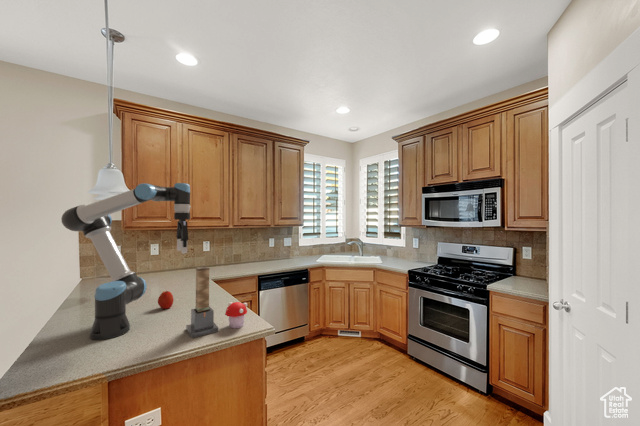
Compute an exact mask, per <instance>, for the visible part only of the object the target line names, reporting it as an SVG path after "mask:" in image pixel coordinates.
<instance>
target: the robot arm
mask: <svg viewBox="0 0 640 426" xmlns="http://www.w3.org/2000/svg"><path fill="white" fill-rule="evenodd" d="M148 201H152V202H174V204H173V205H174V206H173V212H174V214H173V215H174V217H173V218H174V220H175V221H176V220H177V226H176V236H175V237H176V251H177V252H181V254H183V255H185V254H188V240H189V239H190V238H189V231H188V220H190V219H191V213H190V212H191V210H190V209H191V208H192V206H191V185H190V184H189V183H184V182H175V183H174V186H172V187H171V186H159V185H155V184H151V183H143V182H142V183H139V184H138V185H136V187H135V188H133V189H129V190H127V191H125V192H121V193H118V194H116V195H113V196H110V197H107V198H104V199H102V200H98V201H95V202H92V203H90V204H86V205H85V204H79V205H77V206H75V207H71V208H68V209H67V210H65V211H64V212H63V214H62V216H61V225H63V227H65V228H66V229H67V230H70V231H72V232H82V233H83V235H84V238H87V239H90V240H91V242H92V244H93V247H94V248H95V251H96V252H97V253H98V256H99V257H100V259H101V261H102V263H103V264H104V265H103V266H104V267H105V269H106V271H107V272H108V274H109V277H110V278H111V281H109V282H104V283H102V284H100V285H98V286H97V287H96V288H95V291H94V292H95V293H94V321H93V324H92V326H91V329H90V331H89V338H90V340H96V341H101V340H109V339H112V338H116V337H119V336H122V335H124V334H127V333H128V332H129V331H130V329H131V324H130V322H129V319H128V317H127V316H128V315H126V313H127V312H126V307H127V305H128V304H130V303H132V302H134V301H135V302H136V301H137V300H139V299H140V298H141V297H144V294H145V293H146V291H147V287H148V286H147V282H146V280H145V279H144V278H142V277H139V276H138V275H137V273H136V272H135V271H132V270H131V269H130V267H129V266H128V264H127V261H126V259H125V258H124V256H123V253H122V252H121V250H120V248H119V247H118V244H117V243H116V241H115V238H114V237H113V235H112V233H111V230H112V226H111V225H112V222H113V219H112V216H111V214H115V213H117V212H120V211H122V210H125V209H128V208H129V209H130V208H132V207H134V206H139V205H140V204H143V203H146V202H148Z"/></svg>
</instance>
